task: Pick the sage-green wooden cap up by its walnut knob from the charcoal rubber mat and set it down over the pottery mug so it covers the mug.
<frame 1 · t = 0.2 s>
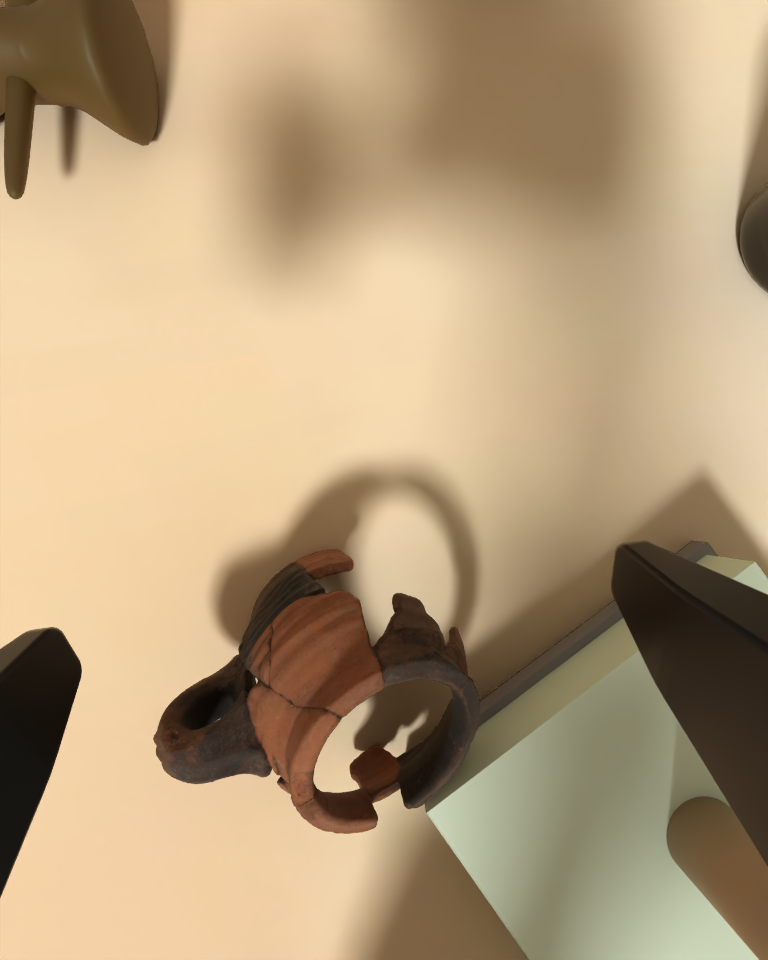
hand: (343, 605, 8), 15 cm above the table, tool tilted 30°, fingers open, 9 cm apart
lid: (660, 793, 21), point 1 cm above the table, touching mat
pottery mug: (326, 660, 22), on the table
mat: (647, 780, 22), on the table
kendama: (70, 47, 24), on the table
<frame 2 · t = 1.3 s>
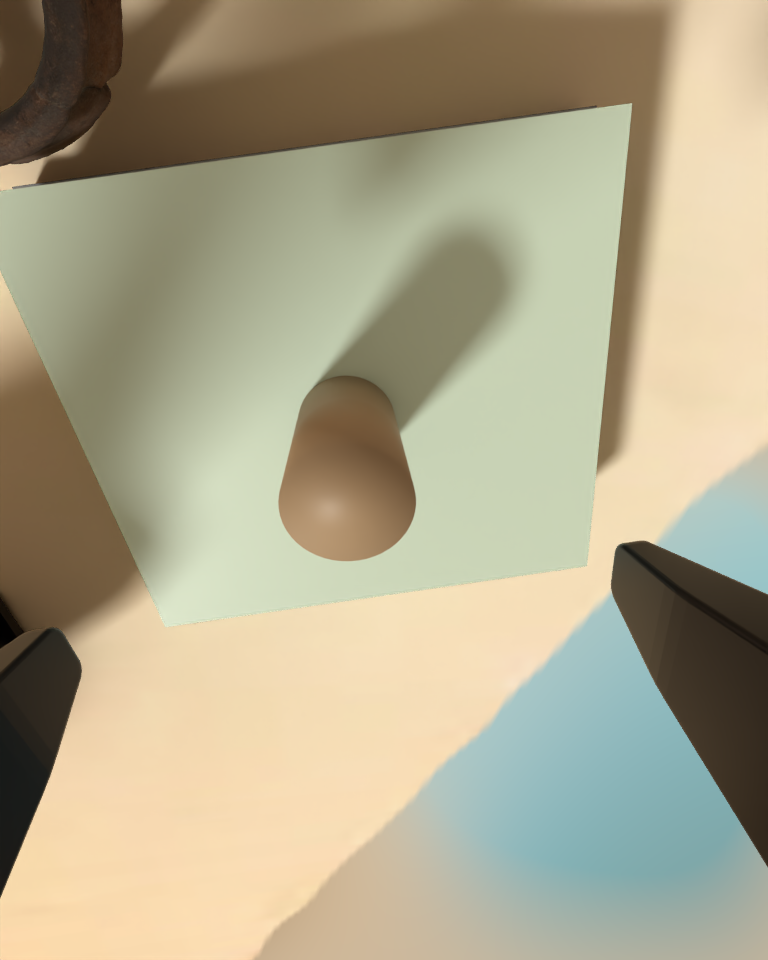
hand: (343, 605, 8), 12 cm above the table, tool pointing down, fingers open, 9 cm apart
lid: (346, 395, 17), point 1 cm above the table, touching mat
mat: (346, 386, 18), on the table
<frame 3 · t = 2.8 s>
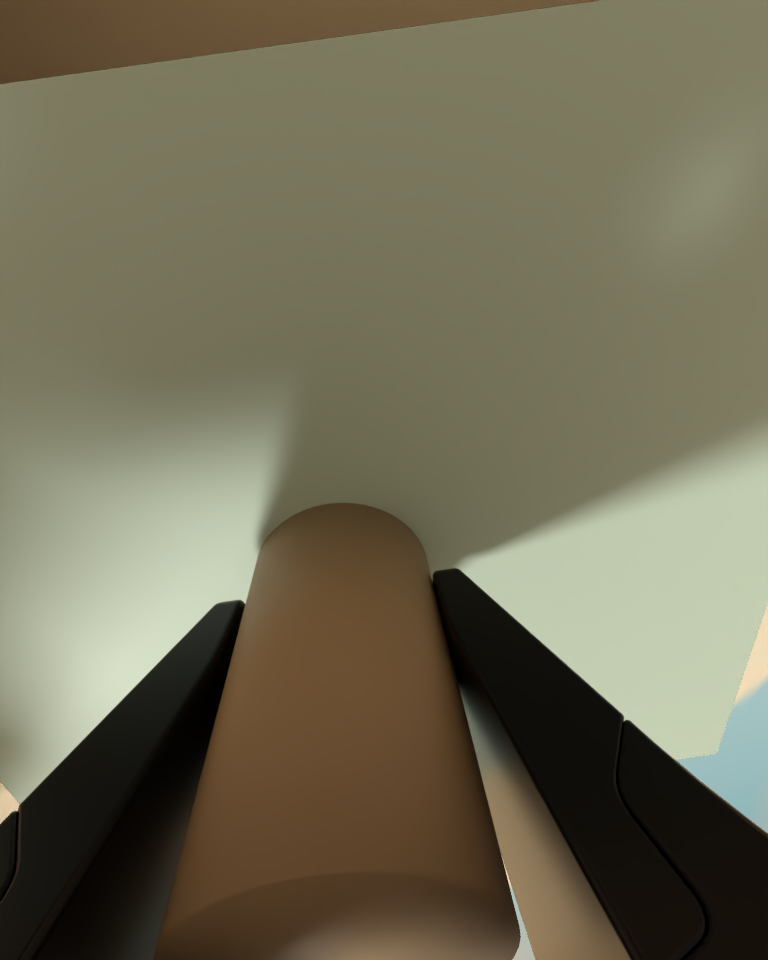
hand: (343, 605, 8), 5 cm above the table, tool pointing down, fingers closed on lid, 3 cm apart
lid: (343, 497, 11), point 1 cm above the table, touching gripper, mat
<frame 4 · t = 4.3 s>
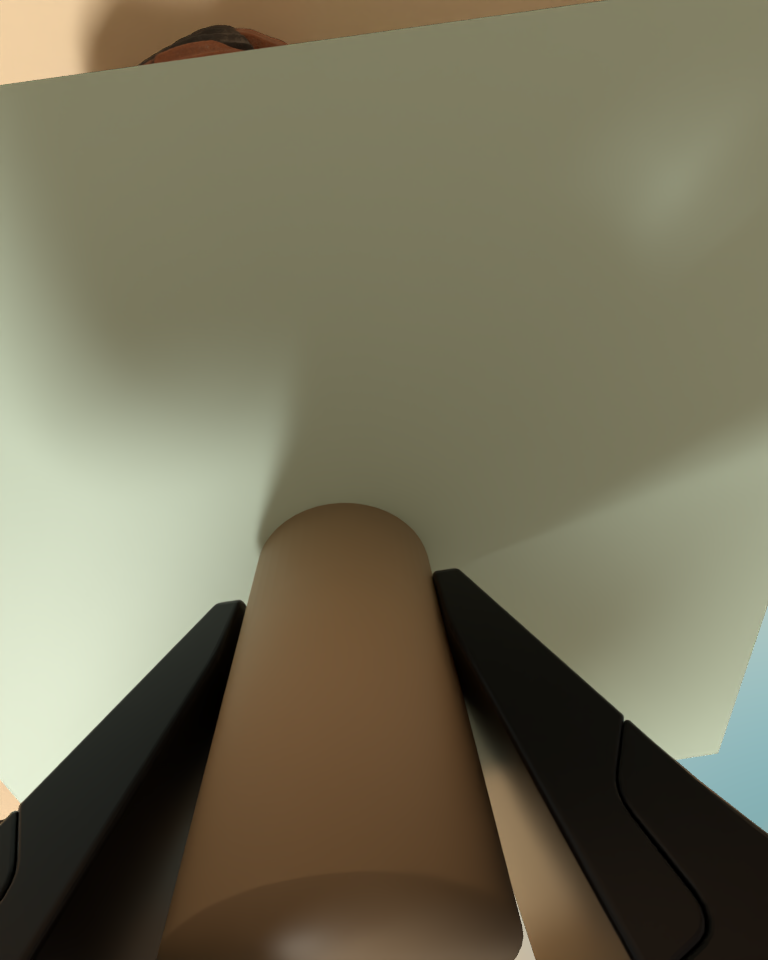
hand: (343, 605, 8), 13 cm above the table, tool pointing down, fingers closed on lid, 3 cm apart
lid: (344, 497, 11), point 10 cm above the table, touching gripper
pottery mug: (229, 221, 17), on the table
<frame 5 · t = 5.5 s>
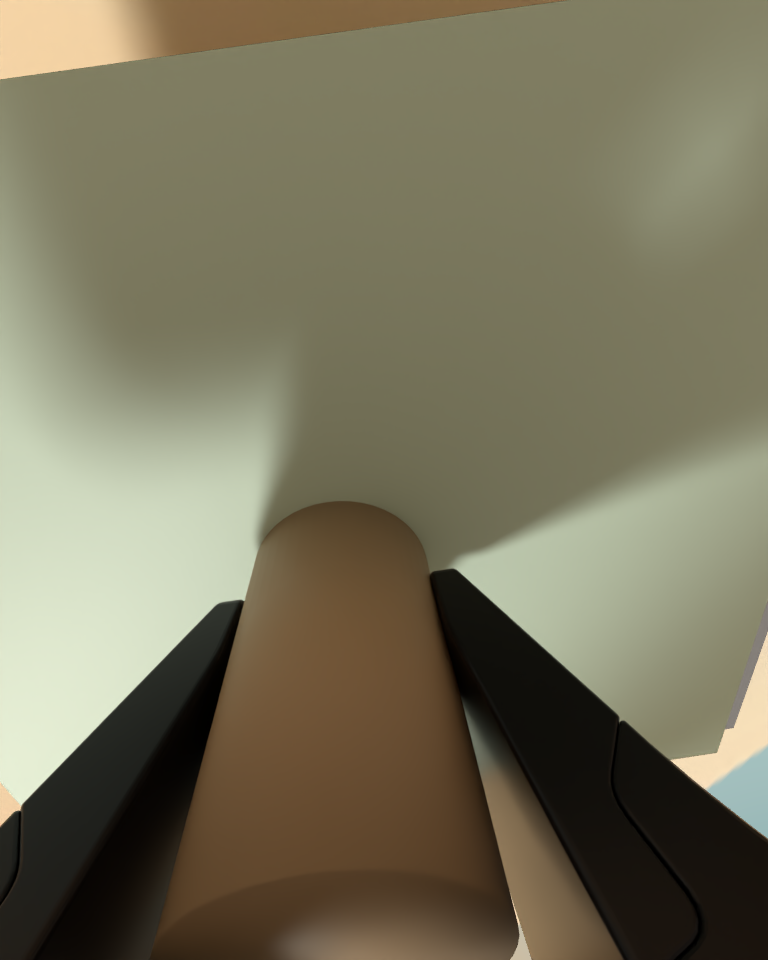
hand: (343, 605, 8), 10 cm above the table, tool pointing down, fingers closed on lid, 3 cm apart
lid: (342, 495, 11), point 6 cm above the table, touching gripper
mat: (576, 635, 23), on the table
when the fingers open (10 cm above the table, at t = 5.6 s): lid drops 2 cm, resting on pottery mug.
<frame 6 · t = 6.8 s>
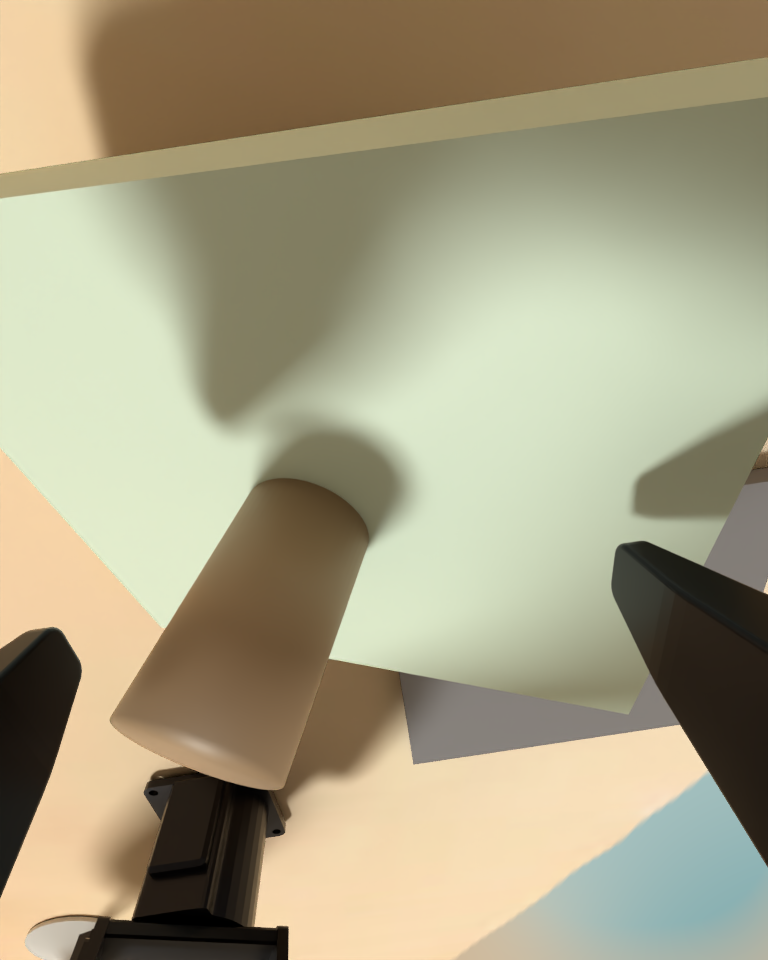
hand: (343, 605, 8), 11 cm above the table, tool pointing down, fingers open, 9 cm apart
lid: (343, 447, 13), point 5 cm above the table, tilted 26°, touching pottery mug
wineglass: (83, 936, 35), on the table
mat: (568, 626, 23), on the table
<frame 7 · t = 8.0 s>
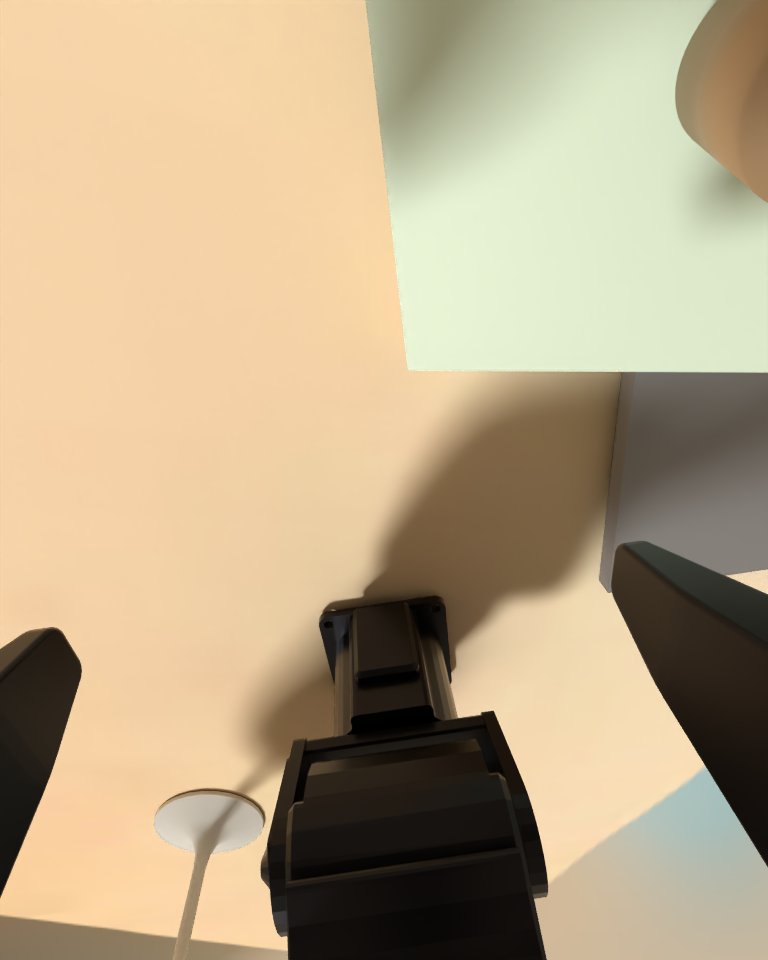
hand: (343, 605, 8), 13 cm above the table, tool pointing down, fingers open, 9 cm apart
lid: (724, 55, 12), point 4 cm above the table, tilted 24°, touching pottery mug
wineglass: (210, 818, 33), on the table
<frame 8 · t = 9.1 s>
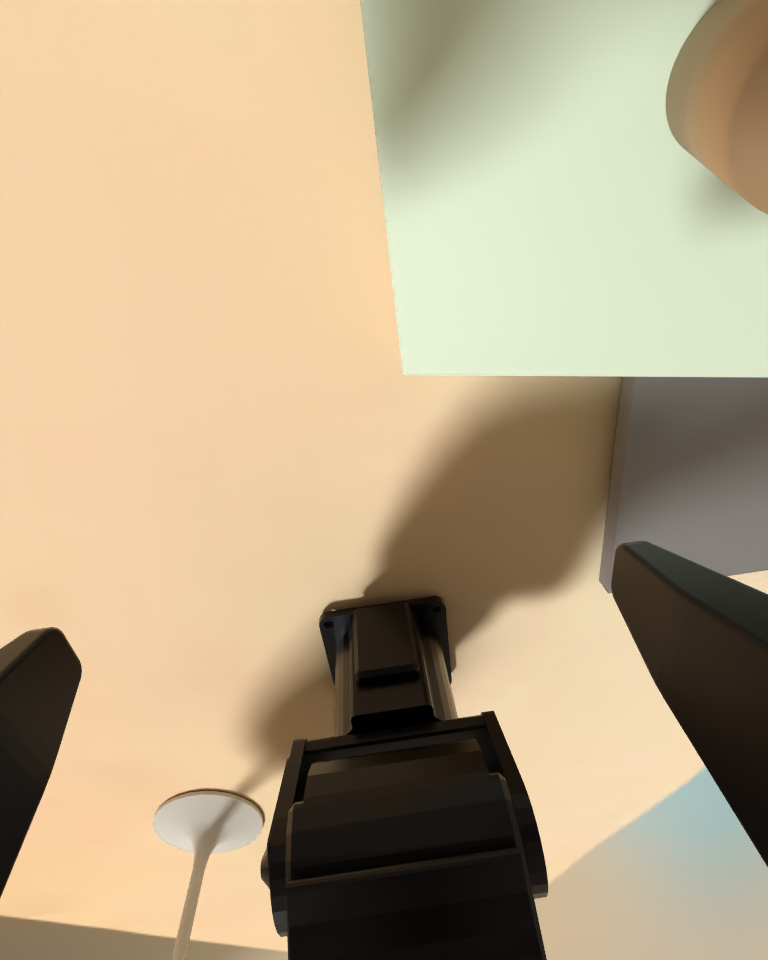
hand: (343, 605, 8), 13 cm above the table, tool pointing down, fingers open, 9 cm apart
lid: (713, 66, 12), point 4 cm above the table, tilted 23°, touching pottery mug
wineglass: (210, 818, 33), on the table
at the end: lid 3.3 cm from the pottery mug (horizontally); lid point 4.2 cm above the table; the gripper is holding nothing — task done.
